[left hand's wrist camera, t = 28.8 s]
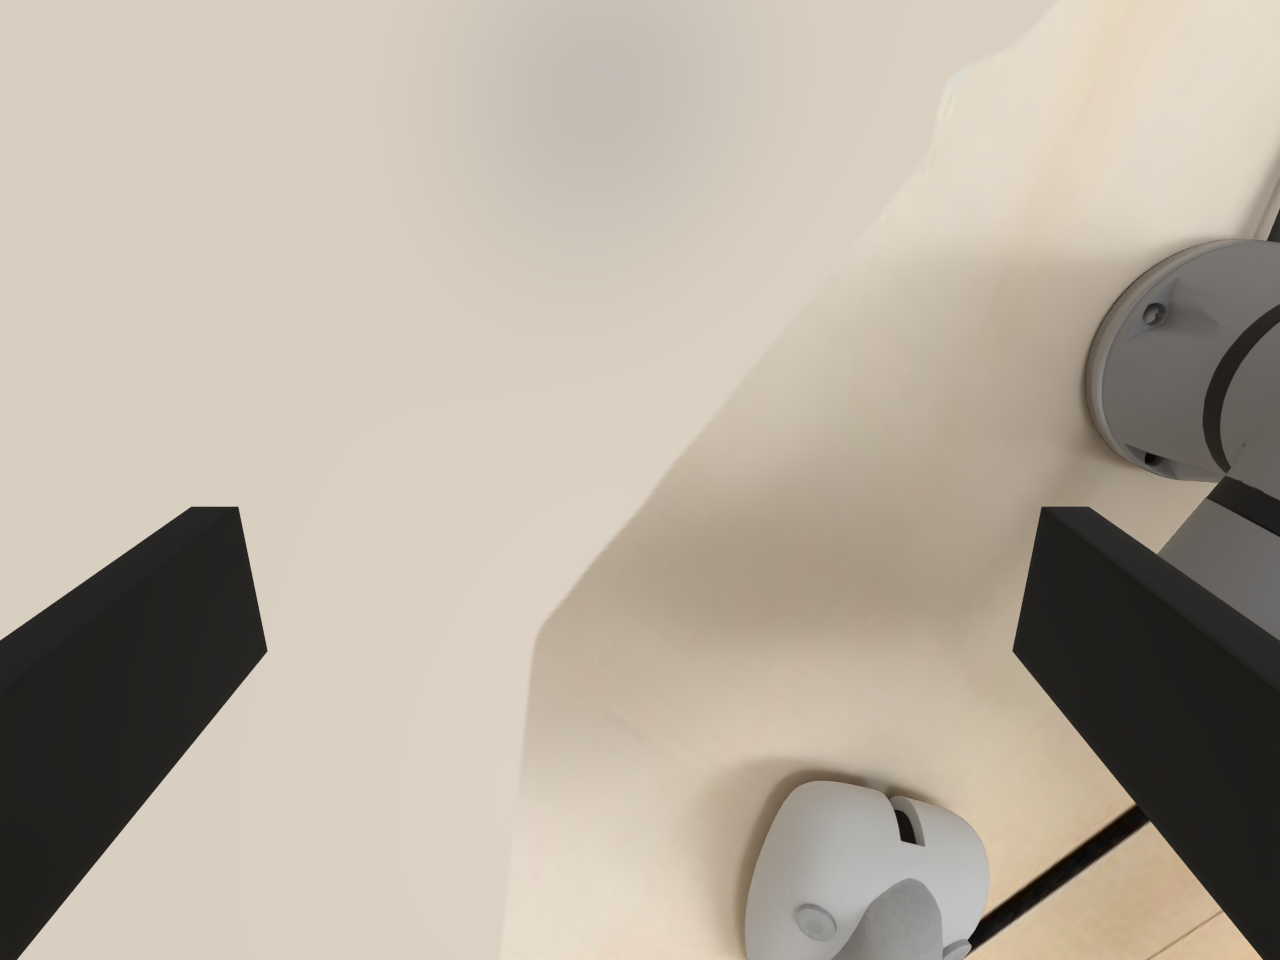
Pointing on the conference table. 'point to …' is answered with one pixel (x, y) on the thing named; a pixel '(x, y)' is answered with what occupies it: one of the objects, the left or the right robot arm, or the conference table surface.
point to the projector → (865, 879)
